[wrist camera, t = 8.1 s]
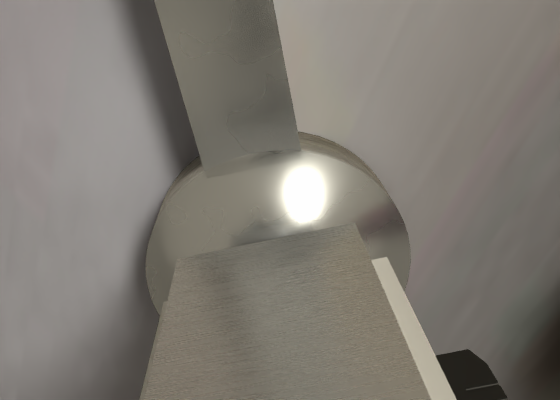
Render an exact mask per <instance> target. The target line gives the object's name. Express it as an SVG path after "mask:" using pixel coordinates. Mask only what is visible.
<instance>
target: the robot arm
mask: <svg viewBox="0 0 560 400" xmlns="http://www.w3.org/2000/svg"><path fill="white" fill-rule="evenodd" d="M371 261H372V263H373V266H374V268H375V270H376V273H377V275H378V277H379V280H380V282H381V284H382V287H383V289H384V291H385V294H386V296H387V298H388V301H389V303H390V305H391V307H392V310H393V312H394V314H395V317H396V319H397V321H398V324H399V326H400V328H401V331H402V333H403V335H404V338H405V340H406V342H407V345H408V347H409V349H410V351H411V354H412V356H413V358H414V361H415V363H416V365H417V368H418V370H419V372H420V375H421V377H422V379H423V382H424V384H425V386H426V389H427V391H428V393H429V396H430V398H431V400H508V399H507V396H506V395H505V393H504V391H503V390H502V388H501V386H499V385H498V381H497V380H496V378H495V376H494V375H493V373H492V372H491V370H490V368H489V367H488V365H487V363H485V362H484V361H483V360H481V359H480V358H479V357H478V356H476V355H475V354H474V353H473V352H471V351H470V350H469V349H467V350H462V351H457V352H452V353H447V354H442V355H436V356H435V354H434V352H433V350H432V348H431V346H430V344H429V342H428V340H427V338H426V336H425V334H424V332H423V330H422V328H421V326H420V324H419V321H418V319H417V317H416V315H415V313H414V311H413V309H412V307H411V305H410V303H409V301H408V299H407V297H406V295H405V293H404V291H403V289H402V287H401V285H400V283H399V281H398V279H397V276H396V274H395V272H394V270H393V268H392V266H391V264H390V262H389V260H388V258H387V257H384V258H379V259H374V260H371ZM166 305H167V302H164V303H163V307H162V311H161V315H160V319H159V323H158V327H157V331H156V335H155V339H154V343H153V347H152V351H151V355H150V359H149V363H148V367H147V371H146V375H145V379H144V383H143V387H142V391H141V396H140V400H144V397H145V392H146V388H147V384H148V380H149V376H150V372H151V367H152V363H153V359H154V355H155V351H156V347H157V342H158V338H159V334H160V330H161V326H162V322H163V317H164V313H165V309H166Z"/></svg>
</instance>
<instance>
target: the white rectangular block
mask: <svg viewBox="0 0 560 400" xmlns="http://www.w3.org/2000/svg"><path fill="white" fill-rule="evenodd" d="M144 400H431V398H430V396H429V393H428V391H427V389H426V386H425V384H424V382H423V379H422V377H421V375H420V372H419V370H418V368H417V365H416V363H415V361H414V358H413V356H412V354H411V351H410V349H409V347H408V345H407V342H406V340H405V338H404V335H403V333H402V331H401V328H400V326H399V324H398V321H397V319H396V317H395V314H394V312H393V310H392V307H391V305H390V303H389V301H388V298H387V296H386V294H385V291H384V289H383V287H382V284H381V282H380V280H379V277H378V275H377V273H376V270H375V268H374V266H373V263H372V261H371V259H370V256H369V254H368V252H367V250H366V247H365V245H364V243H363V240H362V238H361V236H360V233H359V231H358V229H357V226H356V224H355V222H354V223H349V224H344V225H339V226H335V227H330V228H325V229H320V230H315V231H310V232H305V233H300V234H295V235H291V236H286V237H281V238H276V239H271V240H266V241H261V242H256V243H251V244H247V245H242V246H237V247H232V248H227V249H222V250H217V251H212V252H207V253H203V254H198V255H193V256H188V257H183V258H178V259H177V263H176V267H175V272H174V276H173V280H172V284H171V288H170V292H169V297H168V301H167V305H166V309H165V313H164V317H163V322H162V326H161V330H160V334H159V338H158V342H157V347H156V351H155V355H154V359H153V363H152V367H151V372H150V376H149V380H148V384H147V388H146V392H145V397H144Z"/></svg>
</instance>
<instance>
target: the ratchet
mask: <svg viewBox="0 0 560 400" xmlns="http://www.w3.org/2000/svg"><path fill="white" fill-rule="evenodd" d="M154 2H155V5H156V9H157V12H158V15H159V19H160V22H161V26H162V29H163V32H164V36H165V39H166V43H167V46H168V49H169V53H170V56H171V60H172V63H173V67H174V70H175V73H176V77H177V80H178V84H179V87H180V90H181V94H182V97H183V101H184V104H185V107H186V111H187V114H188V118H189V121H190V124H191V128H192V131H193V135H194V138H195V142H196V145H197V148H198V152H199V155H200V156H199V157H197V158H196V159H195V160H194V161H192V162H191V163H190V164H189V165H188V166H187V167H186V168H185V169H184V170H183V171H182V172H181V173H180V174H179V176H178V177H177V178H176V180H175V181H174V182H173V184H172V185H171V187H170V188H169V190H168V192H167V194H166V196H165V198H164V200H163V202H162V205H161V208H160V211H159V213H158V216H157V219H156V222H155V225H154V228H153V230H152V233H151V236H150V239H149V242H148V247H147V253H146V279H147V286H148V290H149V293H150V296H151V299H152V302H153V304H154V306H155V308H156V310H157V312H158V314H159V316H160V315H161V311H162V307H163V303H164V302H167V301H168V297H169V292H170V288H171V284H172V280H173V276H174V272H175V267H176V263H177V259H178V258H183V257H188V256H193V255H198V254H203V253H207V252H212V251H217V250H222V249H227V248H232V247H237V246H242V245H247V244H251V243H256V242H261V241H266V240H271V239H276V238H281V237H286V236H291V235H295V234H300V233H305V232H310V231H315V230H320V229H325V228H330V227H335V226H339V225H344V224H349V223H354V222H355V224H356V226H357V229H358V231H359V233H360V236H361V238H362V240H363V243H364V245H365V247H366V250H367V252H368V254H369V256H370V259H371V260H374V259H379V258H384V257H387V258H388V260H389V262H390V264H391V266H392V268H393V270H394V272H395V274H396V276H397V279H398V281H399V283H400V285H401V287H402V289H403V291H405V288H406V284H407V281H408V277H409V270H410V263H411V259H410V244H409V238H408V233H407V230H406V227H405V224H404V221H403V219H402V217H401V215H400V213H399V211H398V209H397V208H396V206H395V204H394V203H393V201H392V199H391V198H390V196H389V195H388V193H387V191H386V190H385V188H384V187H383V185H382V183H381V182H380V180H379V179H378V178H377V176H376V175H375V174H374V172H373V171H372V170H371V169H370V168H369V167H368V166H367V165H366V164H365V163H364V162H363V161H362V160H361V159H360V158H359V157H357V156H356V155H355V154H353V153H352V152H351V151H349V150H348V149H346V148H344V147H342V146H341V145H339V144H337V143H335V142H333V141H330V140H328V139H325V138H322V137H320V136H316V135H312V134H308V133H304V132H298V131H297V125H296V120H295V115H294V110H293V104H292V99H291V94H290V89H289V83H288V78H287V73H286V68H285V62H284V57H283V52H282V46H281V41H280V36H279V31H278V25H277V20H276V15H275V10H274V4H273V0H154Z"/></svg>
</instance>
